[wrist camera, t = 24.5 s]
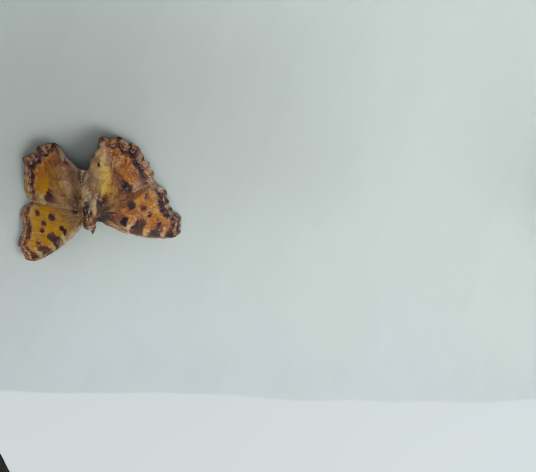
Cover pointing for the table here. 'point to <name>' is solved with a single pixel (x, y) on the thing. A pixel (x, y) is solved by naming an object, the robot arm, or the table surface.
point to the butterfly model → (91, 197)
